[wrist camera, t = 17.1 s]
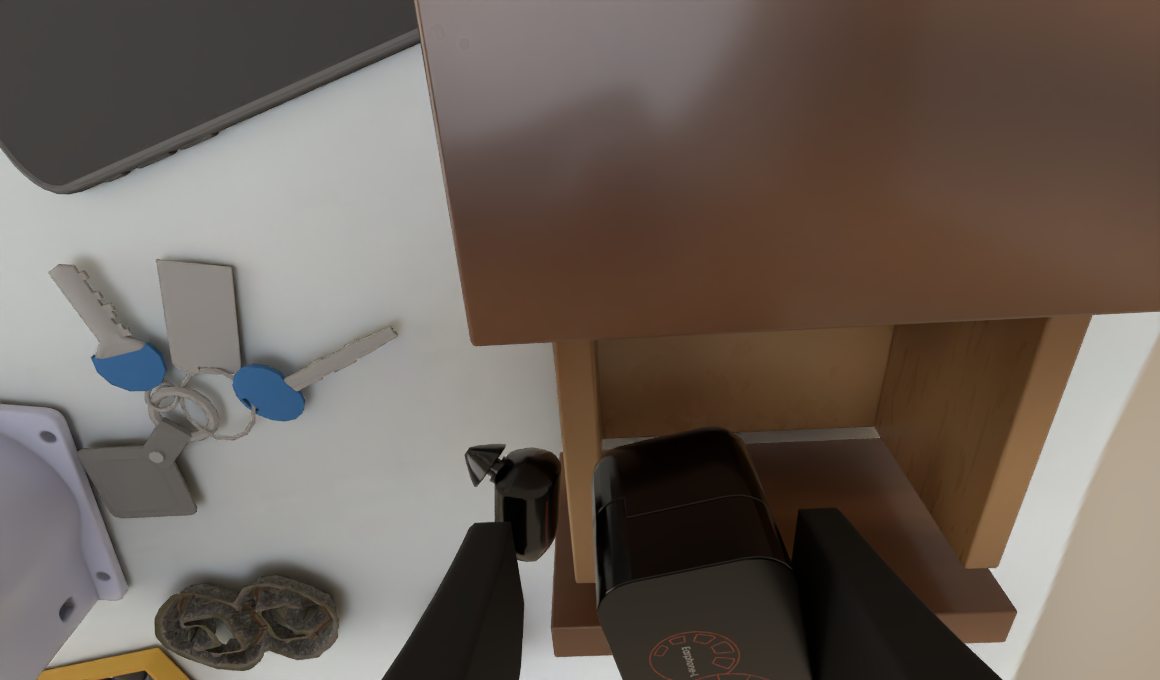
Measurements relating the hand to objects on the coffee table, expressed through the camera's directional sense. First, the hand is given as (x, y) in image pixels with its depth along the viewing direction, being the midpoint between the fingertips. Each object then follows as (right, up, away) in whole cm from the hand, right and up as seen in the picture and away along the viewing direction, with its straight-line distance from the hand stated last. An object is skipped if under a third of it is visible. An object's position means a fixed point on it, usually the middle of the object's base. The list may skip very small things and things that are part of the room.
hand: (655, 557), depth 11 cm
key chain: (-15, +3, +11) cm, 18 cm away
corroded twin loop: (-15, -8, +17) cm, 24 cm away
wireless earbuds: (0, 0, +2) cm, 2 cm away
